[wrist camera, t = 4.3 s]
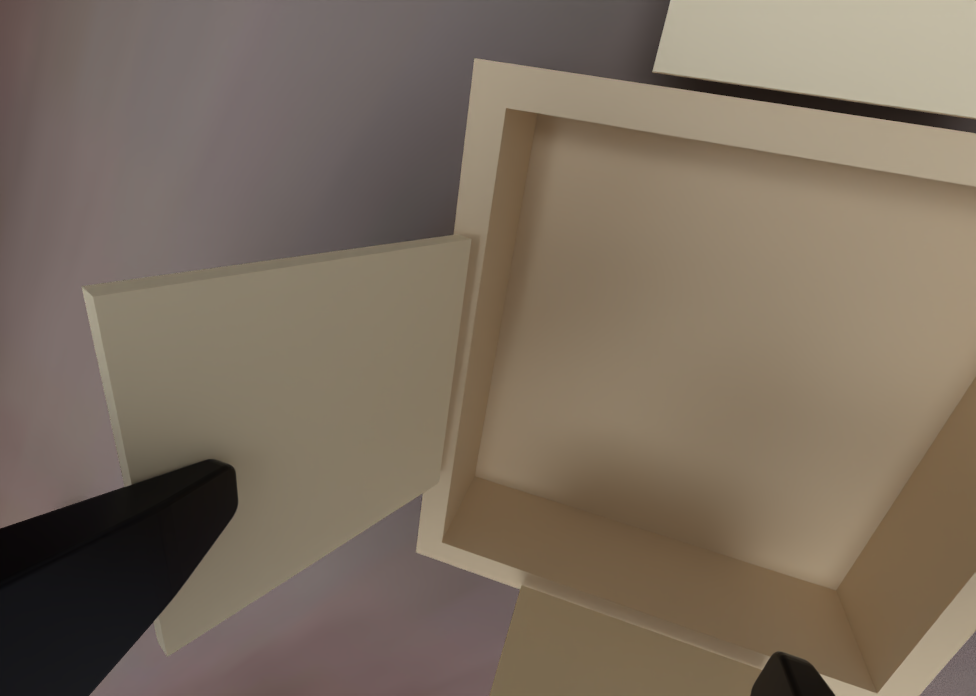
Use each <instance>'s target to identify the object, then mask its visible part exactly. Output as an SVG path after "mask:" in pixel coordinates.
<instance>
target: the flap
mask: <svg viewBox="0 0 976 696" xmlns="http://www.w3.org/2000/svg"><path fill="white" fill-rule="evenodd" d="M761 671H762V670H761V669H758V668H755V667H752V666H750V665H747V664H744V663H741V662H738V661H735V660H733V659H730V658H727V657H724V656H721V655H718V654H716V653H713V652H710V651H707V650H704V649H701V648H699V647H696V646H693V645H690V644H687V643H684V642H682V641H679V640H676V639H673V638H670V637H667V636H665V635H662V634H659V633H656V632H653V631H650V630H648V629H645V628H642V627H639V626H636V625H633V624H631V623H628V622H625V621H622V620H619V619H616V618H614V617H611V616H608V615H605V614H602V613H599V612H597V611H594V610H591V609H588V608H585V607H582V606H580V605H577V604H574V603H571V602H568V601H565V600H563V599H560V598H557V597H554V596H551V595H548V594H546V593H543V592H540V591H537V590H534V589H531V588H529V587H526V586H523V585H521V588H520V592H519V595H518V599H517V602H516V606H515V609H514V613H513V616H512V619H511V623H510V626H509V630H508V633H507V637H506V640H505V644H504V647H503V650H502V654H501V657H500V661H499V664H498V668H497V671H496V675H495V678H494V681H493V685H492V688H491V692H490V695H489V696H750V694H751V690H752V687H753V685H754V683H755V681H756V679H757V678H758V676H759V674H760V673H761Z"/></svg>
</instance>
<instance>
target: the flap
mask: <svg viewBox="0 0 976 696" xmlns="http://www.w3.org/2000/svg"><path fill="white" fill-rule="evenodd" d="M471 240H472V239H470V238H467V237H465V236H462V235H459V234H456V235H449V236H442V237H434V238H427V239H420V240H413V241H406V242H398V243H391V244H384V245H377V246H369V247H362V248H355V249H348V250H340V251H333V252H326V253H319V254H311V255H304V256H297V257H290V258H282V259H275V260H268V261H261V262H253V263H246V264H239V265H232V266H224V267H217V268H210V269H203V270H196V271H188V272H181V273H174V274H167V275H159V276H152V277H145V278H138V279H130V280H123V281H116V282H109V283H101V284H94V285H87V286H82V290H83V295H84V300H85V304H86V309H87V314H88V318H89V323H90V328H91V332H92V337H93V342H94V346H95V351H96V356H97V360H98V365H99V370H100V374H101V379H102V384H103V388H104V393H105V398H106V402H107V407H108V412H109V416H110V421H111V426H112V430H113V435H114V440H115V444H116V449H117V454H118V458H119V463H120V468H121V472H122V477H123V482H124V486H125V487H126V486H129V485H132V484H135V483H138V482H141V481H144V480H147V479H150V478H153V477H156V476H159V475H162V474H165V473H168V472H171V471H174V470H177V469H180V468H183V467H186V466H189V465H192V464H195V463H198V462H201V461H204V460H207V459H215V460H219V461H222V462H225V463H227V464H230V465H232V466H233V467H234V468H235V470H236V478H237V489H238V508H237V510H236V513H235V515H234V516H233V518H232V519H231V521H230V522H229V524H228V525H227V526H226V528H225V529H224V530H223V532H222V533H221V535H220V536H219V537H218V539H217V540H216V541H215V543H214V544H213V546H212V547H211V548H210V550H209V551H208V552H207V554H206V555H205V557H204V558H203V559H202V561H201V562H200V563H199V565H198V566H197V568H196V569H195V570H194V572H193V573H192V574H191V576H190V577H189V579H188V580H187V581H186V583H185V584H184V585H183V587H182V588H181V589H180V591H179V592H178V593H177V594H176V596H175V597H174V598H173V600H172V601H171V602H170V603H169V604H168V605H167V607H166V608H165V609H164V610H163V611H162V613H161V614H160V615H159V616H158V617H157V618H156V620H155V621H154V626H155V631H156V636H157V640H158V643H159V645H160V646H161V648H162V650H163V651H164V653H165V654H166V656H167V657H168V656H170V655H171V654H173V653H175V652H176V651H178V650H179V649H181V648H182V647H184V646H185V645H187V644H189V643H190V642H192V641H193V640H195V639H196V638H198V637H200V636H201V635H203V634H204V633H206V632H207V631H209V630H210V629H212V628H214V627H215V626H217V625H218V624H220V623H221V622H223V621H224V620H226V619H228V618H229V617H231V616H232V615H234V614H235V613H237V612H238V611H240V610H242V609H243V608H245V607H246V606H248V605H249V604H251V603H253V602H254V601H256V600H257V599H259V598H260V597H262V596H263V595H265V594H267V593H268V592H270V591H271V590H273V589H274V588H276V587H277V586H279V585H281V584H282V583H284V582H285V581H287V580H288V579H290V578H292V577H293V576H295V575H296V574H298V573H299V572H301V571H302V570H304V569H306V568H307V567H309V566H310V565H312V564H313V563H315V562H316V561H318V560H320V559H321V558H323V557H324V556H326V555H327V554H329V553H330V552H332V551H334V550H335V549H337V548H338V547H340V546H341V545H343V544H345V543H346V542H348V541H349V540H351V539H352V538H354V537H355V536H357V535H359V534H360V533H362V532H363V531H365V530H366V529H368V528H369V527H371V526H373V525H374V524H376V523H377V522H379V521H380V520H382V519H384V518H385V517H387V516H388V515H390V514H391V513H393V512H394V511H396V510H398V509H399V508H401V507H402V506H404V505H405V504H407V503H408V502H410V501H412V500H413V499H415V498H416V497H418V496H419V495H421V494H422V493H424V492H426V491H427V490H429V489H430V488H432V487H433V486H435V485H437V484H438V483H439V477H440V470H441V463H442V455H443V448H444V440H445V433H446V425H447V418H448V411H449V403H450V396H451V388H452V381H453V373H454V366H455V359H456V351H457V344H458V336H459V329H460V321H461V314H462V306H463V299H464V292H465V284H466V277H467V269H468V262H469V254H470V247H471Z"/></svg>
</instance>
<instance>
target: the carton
mask: <svg viewBox="0 0 976 696" xmlns="http://www.w3.org/2000/svg"><path fill="white" fill-rule="evenodd" d="M652 73H659V74H666V75H672V76H679V77H686V78H693V79H700V80H707V81H714V82H721V83H728V84H734V85H741V86H748V87H755V88H762V89H769V90H776V91H783V92H789V93H796V94H803V95H810V96H817V97H824V98H831V99H838V100H844V101H851V102H858V103H865V104H872V105H879V106H886V107H893V108H900V109H906V110H913V111H920V112H927V113H934V114H941V115H948V116H955V117H961V118H968V119H975V120H976V0H671V1H670V5H669V9H668V12H667V16H666V20H665V24H664V28H663V32H662V36H661V40H660V44H659V48H658V52H657V56H656V60H655V63H654V67H653V72H652ZM456 234H459V235H462V236H465V237H467V238H470V239H472V240H471V247H470V254H469V262H468V269H467V277H466V284H465V292H464V299H463V306H462V314H461V321H460V329H459V336H458V344H457V351H456V359H455V366H454V373H453V381H452V388H451V396H450V403H449V411H448V418H447V425H446V433H445V440H444V448H443V455H442V463H441V470H440V477H439V483H438V484H437V485H435V486H433V487H432V488H430V489H429V490H427V491H426V492H424V493H423V497H422V506H421V514H420V523H419V531H418V540H417V548H416V553H419V554H422V555H425V556H427V557H430V558H433V559H436V560H439V561H442V562H444V563H447V564H450V565H453V566H456V567H458V568H461V569H464V570H467V571H470V572H473V573H475V574H478V575H481V576H484V577H487V578H489V579H492V580H495V581H498V582H501V583H504V584H506V585H509V586H512V587H515V588H518V589H520V588H521V585H523V586H526V587H529V588H531V589H534V590H537V591H540V592H543V593H546V594H548V595H551V596H554V597H557V598H560V599H563V600H565V601H568V602H571V603H574V604H577V605H580V606H582V607H585V608H588V609H591V610H594V611H597V612H599V613H602V614H605V615H608V616H611V617H614V618H616V619H619V620H622V621H625V622H628V623H631V624H633V625H636V626H639V627H642V628H645V629H648V630H650V631H653V632H656V633H659V634H662V635H665V636H667V637H670V638H673V639H676V640H679V641H682V642H684V643H687V644H690V645H693V646H696V647H699V648H701V649H704V650H707V651H710V652H713V653H716V654H718V655H721V656H724V657H727V658H730V659H733V660H735V661H738V662H741V663H744V664H747V665H750V666H752V667H755V668H758V669H761V670H763V668H764V666H765V665H766V663H767V661H768V660H769V658H770V657H771V655H772V654H773V653H775V652H777V651H781V652H784V653H787V654H790V655H793V656H796V657H799V658H802V659H805V660H807V661H808V662H810V663H811V664H812V665H813V666H814V667H815V668H816V670H817V671H818V672H819V674H820V675H821V676H822V678H823V679H824V680H825V682H826V683H827V685H828V686H829V687H830V689H831V690H832V691H833V693H834V694H835V695H836V696H919V695H920V694H921V693H922V692H923V691H924V689H925V688H926V687H927V686H928V685H929V684H930V682H931V681H932V680H933V679H934V678H935V677H936V676H937V674H938V673H939V672H940V671H941V670H942V669H943V668H944V666H945V665H946V664H947V663H948V662H949V661H950V660H951V658H952V657H953V656H954V655H955V654H956V653H957V652H958V650H959V649H960V648H961V647H962V646H963V645H964V643H965V642H966V641H967V640H968V639H969V638H970V637H971V635H972V634H973V633H974V632H975V631H976V133H970V132H963V131H956V130H950V129H943V128H936V127H930V126H923V125H916V124H910V123H903V122H896V121H890V120H883V119H876V118H870V117H863V116H856V115H850V114H843V113H836V112H830V111H823V110H816V109H810V108H803V107H796V106H790V105H783V104H776V103H770V102H763V101H756V100H750V99H743V98H736V97H730V96H723V95H716V94H710V93H703V92H696V91H690V90H683V89H676V88H670V87H663V86H656V85H650V84H643V83H636V82H630V81H623V80H616V79H610V78H603V77H596V76H590V75H583V74H576V73H569V72H563V71H556V70H549V69H543V68H536V67H529V66H523V65H516V64H509V63H503V62H496V61H489V60H483V59H476V58H474V67H473V75H472V84H471V92H470V100H469V109H468V117H467V126H466V134H465V143H464V151H463V160H462V168H461V176H460V185H459V193H458V202H457V210H456V219H455V227H454V235H456Z"/></svg>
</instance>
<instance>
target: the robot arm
mask: <svg viewBox="0 0 976 696" xmlns="http://www.w3.org/2000/svg"><path fill="white" fill-rule="evenodd" d="M237 508H238V489H237V478H236V470H235V468H234V467H233V466H232V465H230V464H227V463H225V462H222V461H219V460H215V459H207V460H204V461H201V462H198V463H195V464H192V465H189V466H186V467H183V468H180V469H177V470H174V471H171V472H168V473H165V474H162V475H159V476H156V477H153V478H150V479H147V480H144V481H141V482H138V483H135V484H132V485H129V486H126V487H123V488H120V489H117V490H114V491H111V492H108V493H105V494H102V495H99V496H96V497H93V498H90V499H87V500H84V501H81V502H78V503H75V504H72V505H69V506H66V507H63V508H60V509H57V510H54V511H51V512H49V513H46V514H43V515H40V516H37V517H34V518H31V519H28V520H25V521H22V522H19V523H16V524H13V525H10V526H7V527H4V528H1V529H0V696H89V695H90V694H91V693H92V692H93V691H94V689H95V688H96V687H97V686H98V685H99V684H100V683H101V681H102V680H103V679H104V678H105V677H106V676H107V675H108V673H109V672H110V671H111V670H112V669H113V668H114V667H115V665H116V664H117V663H118V662H119V661H120V660H121V659H122V657H123V656H124V655H125V654H126V653H127V652H128V650H129V649H130V648H131V647H132V646H133V645H134V644H135V642H136V641H137V640H138V639H139V638H140V637H141V636H142V634H143V633H144V632H145V631H146V630H147V629H148V628H149V626H150V625H151V624H152V623H153V622H154V621H155V620H156V618H157V617H158V616H159V615H160V614H161V613H162V611H163V610H164V609H165V608H166V607H167V605H168V604H169V603H170V602H171V601H172V600H173V598H174V597H175V596H176V594H177V593H178V592H179V591H180V589H181V588H182V587H183V585H184V584H185V583H186V581H187V580H188V579H189V577H190V576H191V574H192V573H193V572H194V570H195V569H196V568H197V566H198V565H199V563H200V562H201V561H202V559H203V558H204V557H205V555H206V554H207V552H208V551H209V550H210V548H211V547H212V546H213V544H214V543H215V541H216V540H217V539H218V537H219V536H220V535H221V533H222V532H223V530H224V529H225V528H226V526H227V525H228V524H229V522H230V521H231V519H232V518H233V516H234V515H235V513H236V510H237ZM750 696H836V695H835V694H834V693H833V691H832V690H831V689H830V687H829V686H828V685H827V683H826V682H825V680H824V679H823V678H822V676H821V675H820V674H819V672H818V671H817V670H816V668H815V667H814V666H813V665H812V664H811V663H810V662H808V661H807V660H805V659H802V658H799V657H796V656H793V655H790V654H787V653H784V652H781V651H777V652H775V653H773V654H772V655H771V657H770V658H769V660H768V661H767V663H766V665H765V666H764V668H763V670H762V671H761V673H760V674H759V676H758V678H757V679H756V681H755V683H754V685H753V687H752V690H751V694H750Z"/></svg>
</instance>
